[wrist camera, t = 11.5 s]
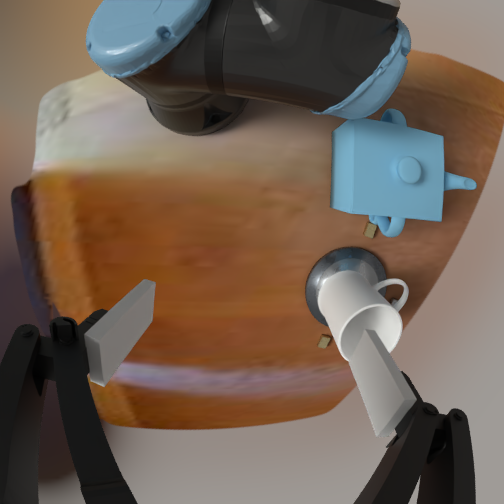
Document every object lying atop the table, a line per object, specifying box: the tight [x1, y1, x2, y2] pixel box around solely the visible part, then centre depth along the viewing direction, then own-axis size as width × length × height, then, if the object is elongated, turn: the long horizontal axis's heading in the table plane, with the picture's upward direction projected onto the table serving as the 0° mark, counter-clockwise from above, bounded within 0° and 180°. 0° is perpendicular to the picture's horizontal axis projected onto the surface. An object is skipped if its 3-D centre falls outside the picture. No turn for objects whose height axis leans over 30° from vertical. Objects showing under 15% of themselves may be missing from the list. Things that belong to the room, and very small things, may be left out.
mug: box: [318, 270, 409, 362], centre depth 33 cm, size 12×8×12 cm
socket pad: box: [305, 222, 399, 348], centre depth 40 cm, size 21×17×1 cm
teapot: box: [330, 109, 477, 237], centre depth 30 cm, size 18×16×13 cm
